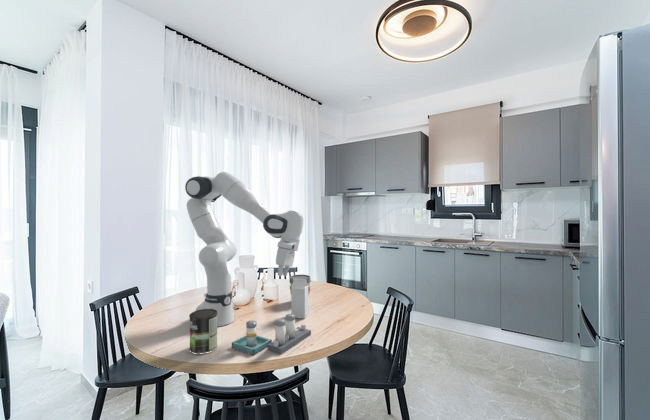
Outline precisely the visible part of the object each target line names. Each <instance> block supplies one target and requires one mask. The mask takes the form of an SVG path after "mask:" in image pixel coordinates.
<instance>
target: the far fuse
mask: <svg viewBox="0 0 650 420" xmlns="http://www.w3.org/2000/svg"><path fill="white" fill-rule="evenodd" d="M274 320H275V321H274V325H275V332H274V333H275V336H274V337H275V339H274V340H276V341H278V346H281V345H284V344H285V334H286V318H276V319H274Z"/></svg>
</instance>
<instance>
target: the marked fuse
mask: <svg viewBox="0 0 650 420" xmlns="http://www.w3.org/2000/svg"><path fill="white" fill-rule="evenodd" d="M245 325H246V334H245V336H247V341H246V346H247V347H254V346H256V345H257V340H256V335H257V320H248V321H247V322H246V323H245Z"/></svg>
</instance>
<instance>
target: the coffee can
mask: <svg viewBox="0 0 650 420" xmlns="http://www.w3.org/2000/svg"><path fill="white" fill-rule="evenodd" d="M217 313H218V312H217V310H214V309H202V310H197V311H196V310H195V311H193V312H191V313H189V352H190V351H191V352H193V353H196V354H200V353H206V352H210V351H213V350H214V351H216V350H217V349H218V326H217ZM216 348H217V349H216ZM214 351H213V352H214ZM210 353H211V352H210Z"/></svg>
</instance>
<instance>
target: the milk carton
mask: <svg viewBox="0 0 650 420" xmlns="http://www.w3.org/2000/svg"><path fill="white" fill-rule="evenodd" d="M290 295H291V299H290V301H291V307H290V308H291V309H290V312H291V313H290V314H295V319H306V318H307V316H308V315H309V295H308V284H307V279H293V284H292V287H291V292H290Z"/></svg>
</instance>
